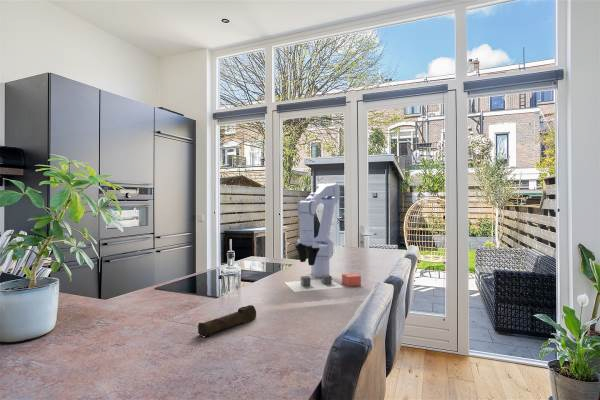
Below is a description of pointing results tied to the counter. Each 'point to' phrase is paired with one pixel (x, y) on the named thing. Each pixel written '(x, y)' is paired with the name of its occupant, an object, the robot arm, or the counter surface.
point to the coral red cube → (351, 279)
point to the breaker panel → (314, 284)
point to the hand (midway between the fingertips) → (307, 263)
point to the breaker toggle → (305, 280)
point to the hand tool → (228, 321)
